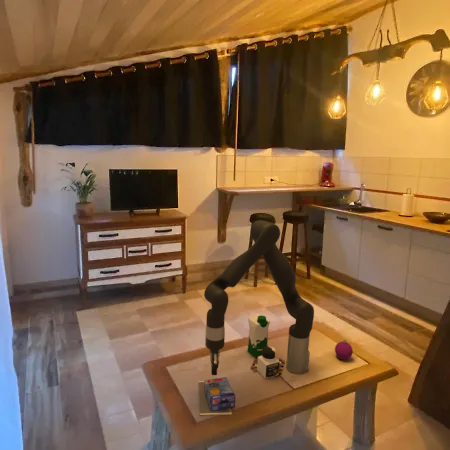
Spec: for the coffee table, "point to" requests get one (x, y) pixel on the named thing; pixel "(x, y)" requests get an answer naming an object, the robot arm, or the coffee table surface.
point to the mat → (205, 406)
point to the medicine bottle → (268, 363)
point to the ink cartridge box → (219, 393)
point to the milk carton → (257, 335)
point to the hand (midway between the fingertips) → (214, 374)
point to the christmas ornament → (343, 350)
